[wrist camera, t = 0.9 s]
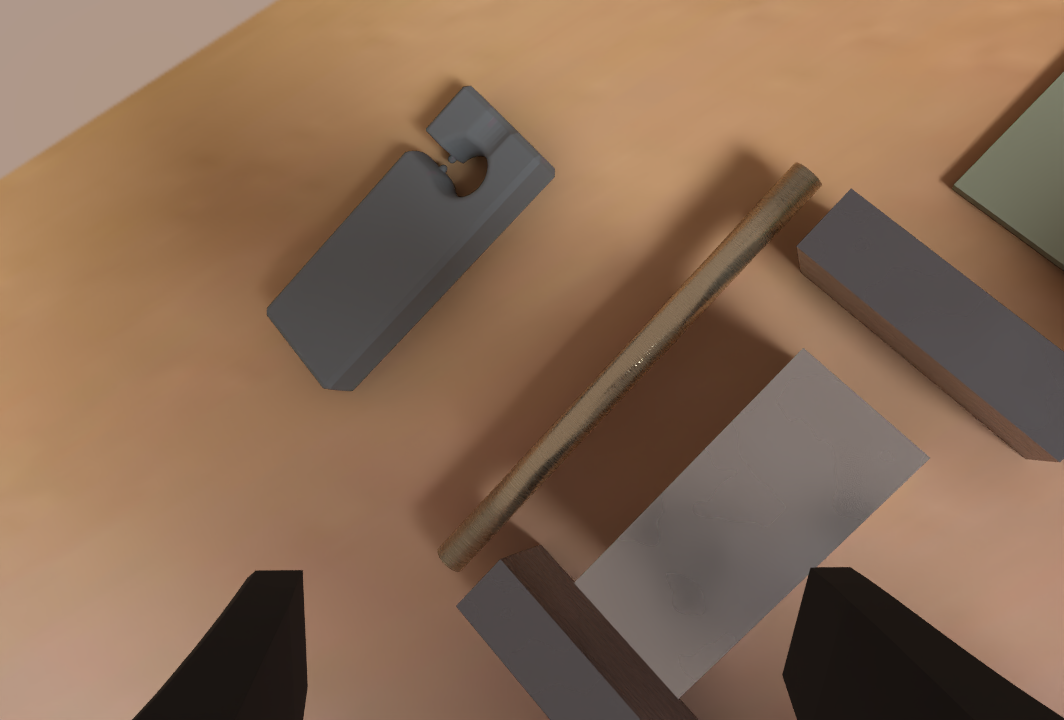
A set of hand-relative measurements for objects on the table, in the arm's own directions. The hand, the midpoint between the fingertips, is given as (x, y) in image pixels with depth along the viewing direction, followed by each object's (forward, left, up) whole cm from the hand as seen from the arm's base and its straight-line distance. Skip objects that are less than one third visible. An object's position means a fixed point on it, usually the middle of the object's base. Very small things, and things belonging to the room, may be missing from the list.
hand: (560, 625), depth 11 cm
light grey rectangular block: (-1, -2, -15) cm, 15 cm away
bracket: (+14, 0, -15) cm, 21 cm away
